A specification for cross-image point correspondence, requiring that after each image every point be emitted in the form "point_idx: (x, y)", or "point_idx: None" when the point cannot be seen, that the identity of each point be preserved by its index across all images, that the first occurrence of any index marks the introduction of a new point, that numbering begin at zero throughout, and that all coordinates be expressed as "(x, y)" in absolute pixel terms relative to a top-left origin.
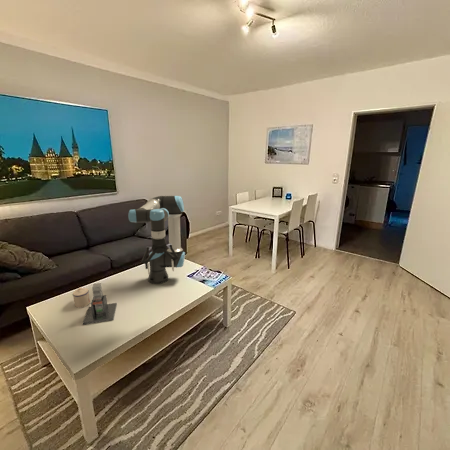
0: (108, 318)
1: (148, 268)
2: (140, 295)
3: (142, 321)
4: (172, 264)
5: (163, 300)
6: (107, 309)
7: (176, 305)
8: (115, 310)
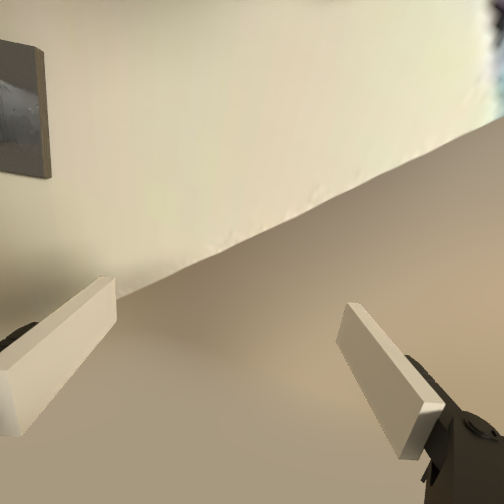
0: (25, 173)
1: (64, 373)
2: (157, 7)
3: (159, 232)
4: (372, 405)
5: (257, 120)
6: (2, 95)
7: (296, 187)
8: (46, 107)
